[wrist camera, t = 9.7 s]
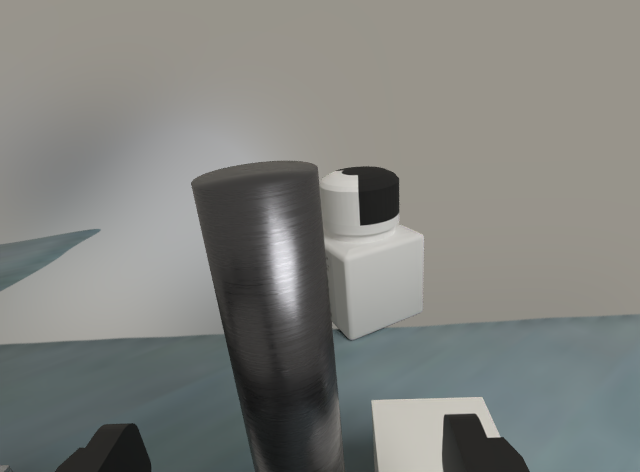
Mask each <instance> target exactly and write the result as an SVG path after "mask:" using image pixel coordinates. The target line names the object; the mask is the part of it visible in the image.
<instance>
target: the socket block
mask: <svg viewBox="0 0 640 472" xmlns="http://www.w3.org/2000/svg"><path fill="white" fill-rule="evenodd" d="M371 401H372V423H373V444H374V465H375V472H443V466H442V440H443V419H444V415H445V414H472V413H475V414H476V415H477V416H478V417H479V419H480V421H481V424H482V426H483V428H484V431H485V433H486V435H487V438H495V437H500V435H499V433H498V431H497V428H496V426H495V424H494V422H493V420H492V417H491V415H490V413H489V411H488V409H487V406H486V404H485V402H484V400H483V398H482V397H469V398H433V399H396V400H371Z"/></svg>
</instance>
